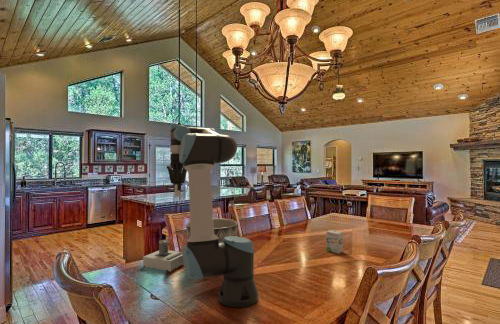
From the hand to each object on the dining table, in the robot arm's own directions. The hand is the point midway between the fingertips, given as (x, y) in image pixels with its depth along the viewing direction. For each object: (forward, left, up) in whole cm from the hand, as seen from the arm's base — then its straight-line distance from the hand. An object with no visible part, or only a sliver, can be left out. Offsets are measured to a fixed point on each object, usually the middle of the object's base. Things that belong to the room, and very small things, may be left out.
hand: (177, 196), depth 156 cm
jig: (-9, 0, -34) cm, 35 cm away
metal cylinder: (-9, +2, -34) cm, 36 cm away
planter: (-2, -23, -35) cm, 42 cm away
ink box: (+48, -78, -35) cm, 98 cm away
